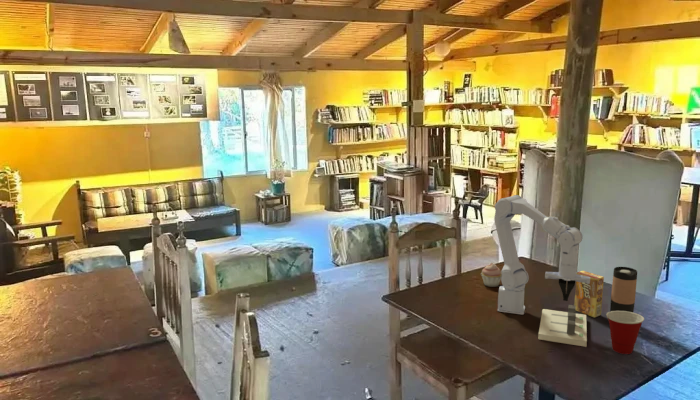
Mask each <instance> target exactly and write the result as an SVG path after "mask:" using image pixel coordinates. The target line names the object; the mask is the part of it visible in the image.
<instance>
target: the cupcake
mask: <svg viewBox="0 0 700 400" xmlns="http://www.w3.org/2000/svg"><path fill="white" fill-rule="evenodd" d="M501 271H502V270H501V269H500V268H499V267H498V266H497V265H496V264H495V263H494V262H491V263H490V264H488V265H486V266H485V267H483V268H482V269H481V273H480V276H481V278H482V280H483V285H484V286H486V287H489V288H492V287H493V288H495V287H499V286H500V284H501V283H500V282H501V279H502V272H501Z"/></svg>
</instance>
